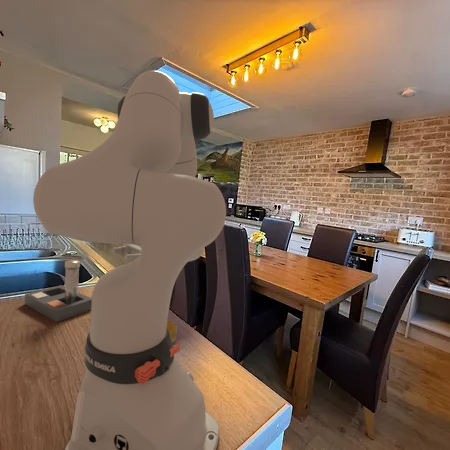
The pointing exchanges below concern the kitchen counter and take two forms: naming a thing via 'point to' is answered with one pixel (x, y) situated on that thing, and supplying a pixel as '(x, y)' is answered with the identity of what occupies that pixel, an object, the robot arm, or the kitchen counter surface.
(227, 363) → the kitchen counter surface
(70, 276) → the metal plug
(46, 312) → the socket board
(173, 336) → the bread roll
